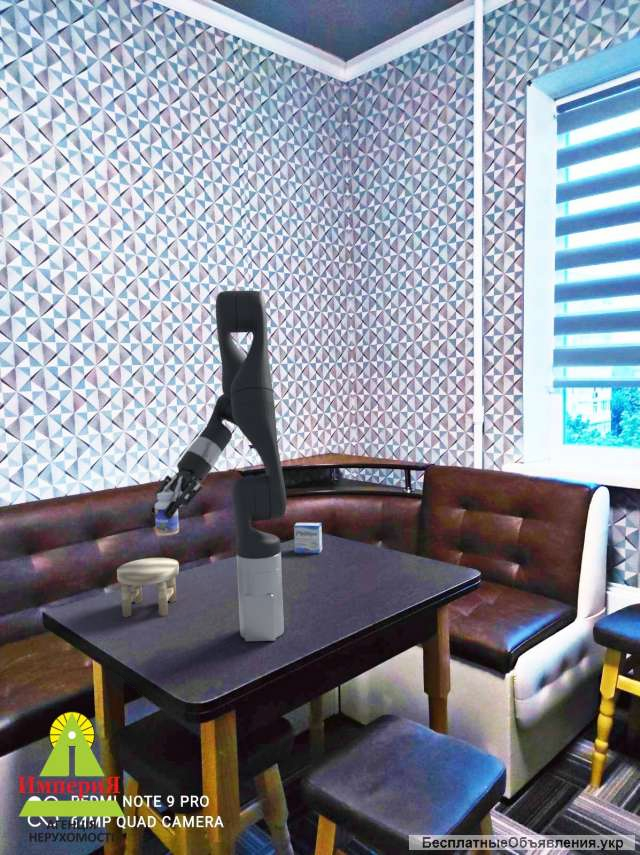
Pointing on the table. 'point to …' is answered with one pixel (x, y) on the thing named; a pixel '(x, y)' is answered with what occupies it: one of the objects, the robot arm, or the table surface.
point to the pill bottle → (162, 523)
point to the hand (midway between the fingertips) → (159, 515)
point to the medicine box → (308, 537)
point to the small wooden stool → (148, 581)
